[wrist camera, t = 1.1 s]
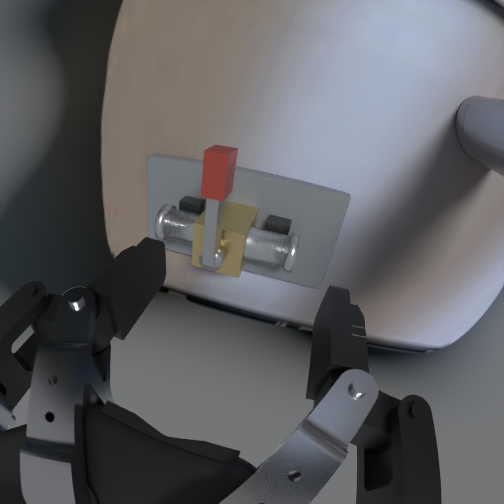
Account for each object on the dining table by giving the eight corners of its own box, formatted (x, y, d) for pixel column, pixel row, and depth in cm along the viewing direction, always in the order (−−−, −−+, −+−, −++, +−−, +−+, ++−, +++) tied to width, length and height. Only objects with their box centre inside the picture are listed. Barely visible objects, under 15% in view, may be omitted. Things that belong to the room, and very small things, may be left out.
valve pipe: (303, 218, 35) (299, 248, 29) (293, 256, 38) (286, 290, 32) (176, 190, 37) (149, 212, 30) (176, 227, 40) (151, 253, 34)
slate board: (349, 193, 33) (350, 197, 32) (318, 282, 41) (318, 288, 40) (152, 153, 36) (147, 156, 35) (154, 239, 44) (149, 244, 43)
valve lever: (225, 265, 31) (217, 279, 29) (204, 259, 32) (195, 273, 29) (239, 148, 24) (231, 154, 22) (213, 144, 24) (202, 150, 22)
